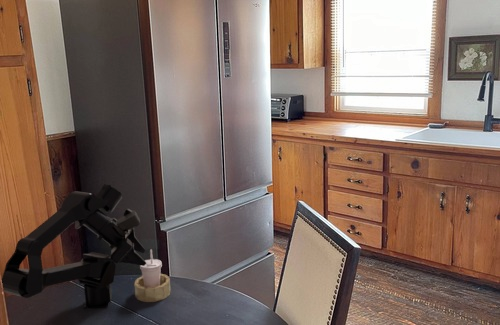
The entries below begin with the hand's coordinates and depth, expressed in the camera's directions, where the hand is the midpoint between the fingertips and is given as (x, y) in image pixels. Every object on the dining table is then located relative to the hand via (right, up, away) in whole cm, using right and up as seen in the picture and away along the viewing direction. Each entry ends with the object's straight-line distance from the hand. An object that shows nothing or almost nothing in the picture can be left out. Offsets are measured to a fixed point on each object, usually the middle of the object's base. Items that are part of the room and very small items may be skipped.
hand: (144, 257), depth 136 cm
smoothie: (+2, -11, +3) cm, 12 cm away
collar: (+2, -11, +3) cm, 12 cm away
